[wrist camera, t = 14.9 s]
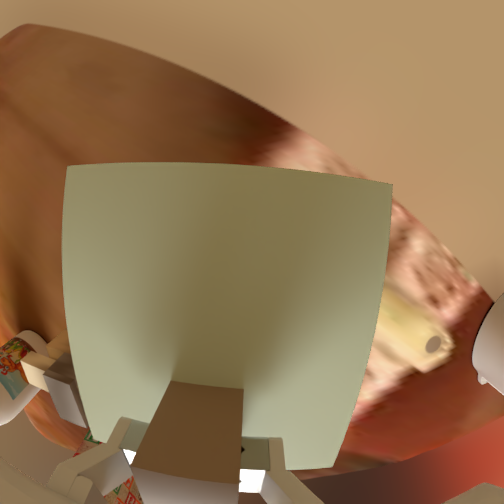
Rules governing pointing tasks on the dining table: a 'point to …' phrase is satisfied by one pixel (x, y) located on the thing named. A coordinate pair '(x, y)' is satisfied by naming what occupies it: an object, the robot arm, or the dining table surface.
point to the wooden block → (37, 369)
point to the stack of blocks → (125, 495)
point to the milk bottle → (17, 373)
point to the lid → (220, 312)
